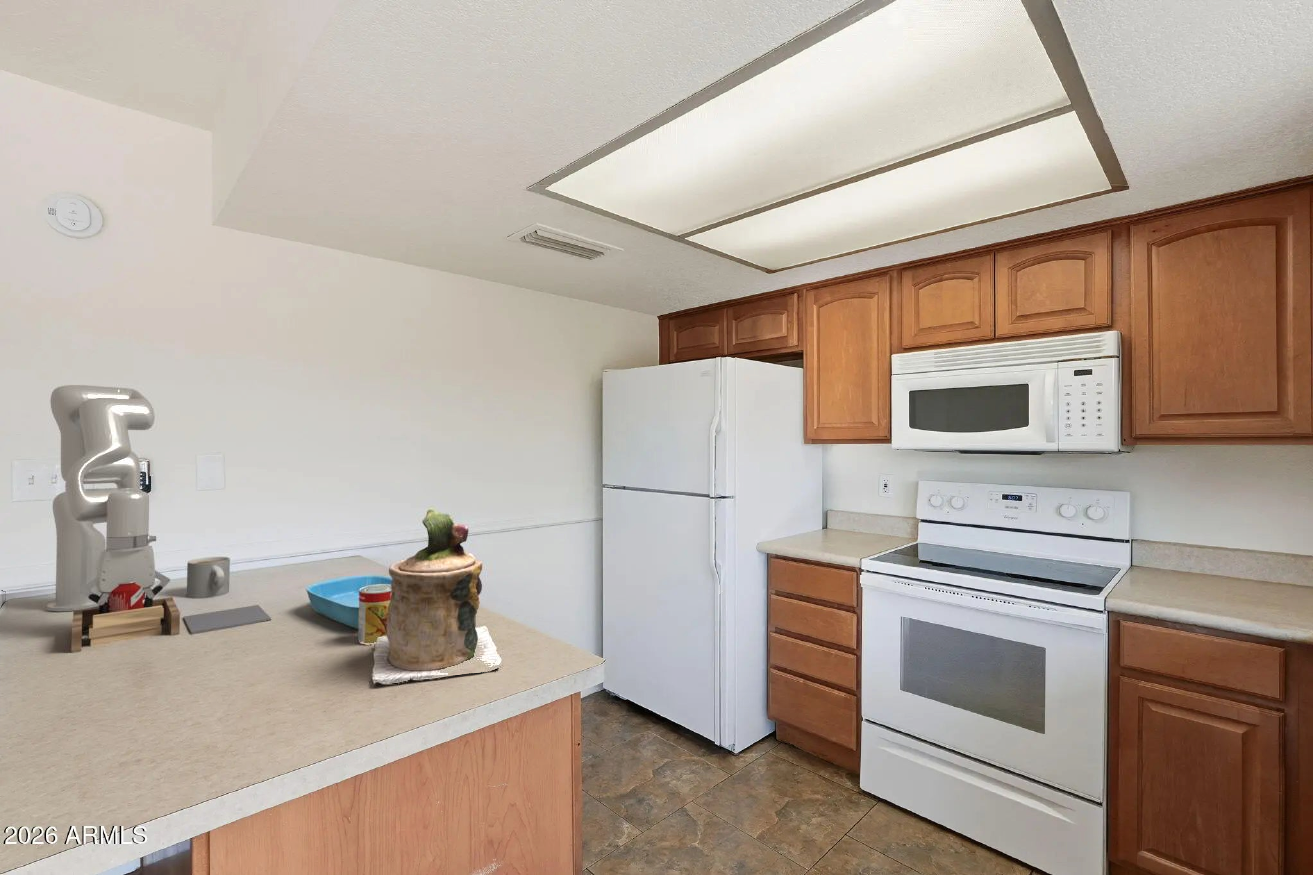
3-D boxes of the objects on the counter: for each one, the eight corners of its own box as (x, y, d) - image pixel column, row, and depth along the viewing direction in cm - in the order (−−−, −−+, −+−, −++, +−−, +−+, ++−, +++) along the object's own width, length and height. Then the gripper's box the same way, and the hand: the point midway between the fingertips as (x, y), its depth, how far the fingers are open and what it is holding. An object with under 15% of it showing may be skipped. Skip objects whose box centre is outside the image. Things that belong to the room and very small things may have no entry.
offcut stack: (88, 642, 131) (89, 615, 131) (161, 630, 140) (162, 605, 140) (88, 647, 128) (89, 620, 128) (163, 634, 137) (164, 609, 137)
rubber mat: (183, 618, 149) (183, 616, 149) (258, 606, 160) (258, 604, 160) (191, 634, 137) (191, 632, 137) (271, 620, 148) (271, 618, 148)
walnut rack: (73, 631, 137) (73, 610, 137) (171, 616, 150) (172, 597, 150) (71, 652, 125) (71, 629, 125) (179, 633, 137) (179, 612, 137)
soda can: (121, 636, 135) (122, 584, 135) (98, 633, 136) (99, 582, 136) (152, 627, 142) (152, 577, 142) (130, 624, 143) (130, 576, 143)
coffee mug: (184, 593, 172) (185, 559, 172) (225, 587, 179) (226, 555, 179) (191, 602, 162) (192, 567, 162) (234, 596, 169) (235, 562, 170)
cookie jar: (369, 690, 109) (372, 520, 109) (375, 646, 131) (377, 505, 131) (503, 671, 119) (506, 515, 119) (487, 633, 141) (489, 502, 141)
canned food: (401, 639, 136) (402, 588, 136) (366, 647, 130) (367, 594, 130) (387, 631, 141) (388, 582, 141) (352, 639, 136) (353, 587, 136)
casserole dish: (446, 617, 154) (446, 590, 154) (362, 640, 135) (363, 610, 135) (372, 594, 175) (372, 570, 175) (291, 611, 157) (292, 585, 157)
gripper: (172, 537, 148) (171, 607, 148) (76, 544, 136) (75, 621, 136) (176, 540, 142) (174, 613, 142) (76, 549, 130) (74, 629, 130)
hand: (126, 616), depth 139 cm, fingers closed on soda can, 6 cm apart
